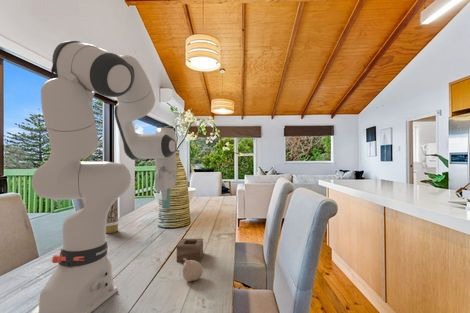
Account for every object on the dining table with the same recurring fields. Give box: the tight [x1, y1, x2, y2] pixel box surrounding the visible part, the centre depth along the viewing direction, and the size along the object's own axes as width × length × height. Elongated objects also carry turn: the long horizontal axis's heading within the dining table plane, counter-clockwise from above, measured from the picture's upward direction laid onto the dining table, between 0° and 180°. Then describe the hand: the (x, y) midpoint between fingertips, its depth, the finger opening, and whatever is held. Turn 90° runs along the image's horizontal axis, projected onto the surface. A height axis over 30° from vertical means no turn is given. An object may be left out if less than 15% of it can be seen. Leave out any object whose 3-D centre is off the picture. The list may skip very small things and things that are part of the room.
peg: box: [161, 188, 171, 209], centre depth 109 cm, size 3×3×10 cm
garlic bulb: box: [182, 258, 204, 282], centre depth 84 cm, size 7×6×8 cm
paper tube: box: [106, 198, 119, 234], centre depth 139 cm, size 7×7×25 cm
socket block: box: [176, 238, 204, 263], centre depth 103 cm, size 9×9×6 cm
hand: (166, 199), depth 109 cm, fingers closed on peg, 3 cm apart
